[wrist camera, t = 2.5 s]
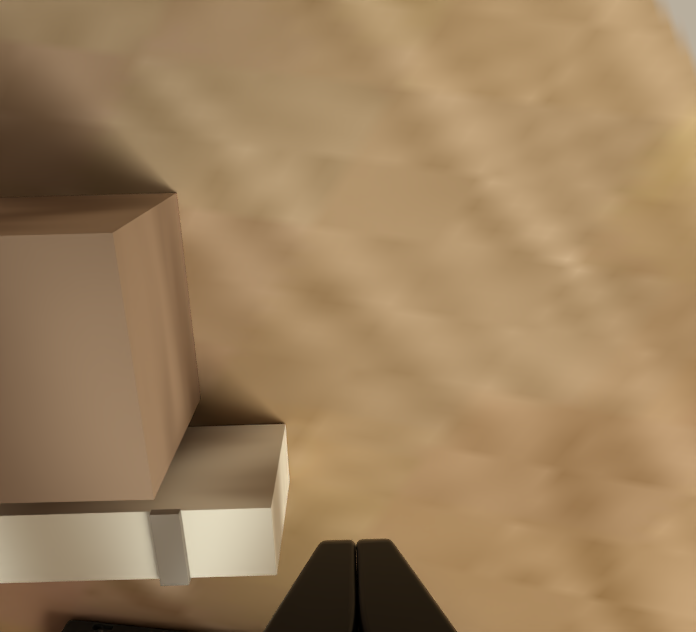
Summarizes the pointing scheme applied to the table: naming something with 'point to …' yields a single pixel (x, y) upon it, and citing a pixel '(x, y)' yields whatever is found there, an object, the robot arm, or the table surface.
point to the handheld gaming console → (105, 627)
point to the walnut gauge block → (92, 346)
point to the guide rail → (164, 518)
